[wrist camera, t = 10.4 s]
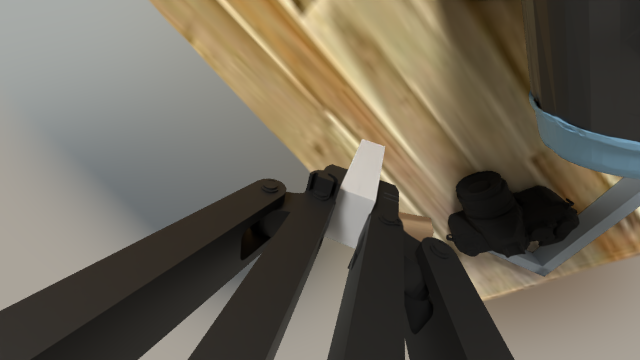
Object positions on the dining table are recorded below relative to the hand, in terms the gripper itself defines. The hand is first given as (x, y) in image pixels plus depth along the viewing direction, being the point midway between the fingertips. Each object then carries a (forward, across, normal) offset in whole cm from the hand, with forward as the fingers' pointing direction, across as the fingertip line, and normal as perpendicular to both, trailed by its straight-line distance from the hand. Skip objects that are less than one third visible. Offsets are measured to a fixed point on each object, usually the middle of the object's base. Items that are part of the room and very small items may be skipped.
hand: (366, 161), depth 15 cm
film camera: (+24, +20, -9) cm, 32 cm away
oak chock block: (+23, +12, -19) cm, 32 cm away
